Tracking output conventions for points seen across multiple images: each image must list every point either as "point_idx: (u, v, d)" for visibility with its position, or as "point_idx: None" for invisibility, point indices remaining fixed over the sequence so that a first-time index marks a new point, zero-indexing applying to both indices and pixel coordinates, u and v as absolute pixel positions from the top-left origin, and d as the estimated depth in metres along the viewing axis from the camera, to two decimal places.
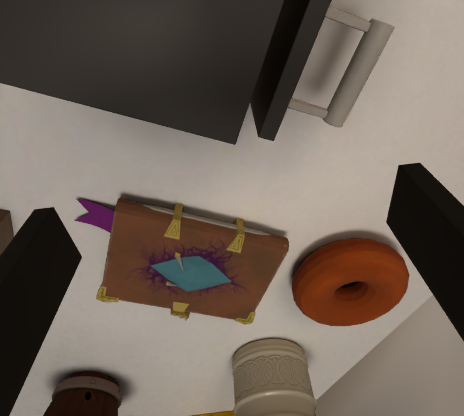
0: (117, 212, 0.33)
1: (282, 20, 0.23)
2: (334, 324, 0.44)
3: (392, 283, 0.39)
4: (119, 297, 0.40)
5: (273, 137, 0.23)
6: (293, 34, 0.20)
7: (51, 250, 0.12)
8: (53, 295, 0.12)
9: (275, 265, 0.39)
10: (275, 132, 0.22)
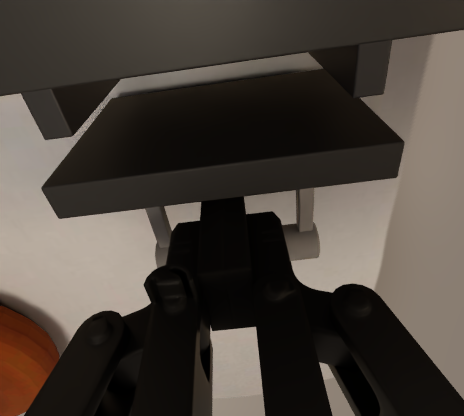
0: None
1: (255, 96, 0.13)
2: None
3: (11, 405, 0.26)
4: None
5: (65, 215, 0.10)
6: (263, 147, 0.10)
7: None
8: None
9: None
10: (77, 214, 0.10)
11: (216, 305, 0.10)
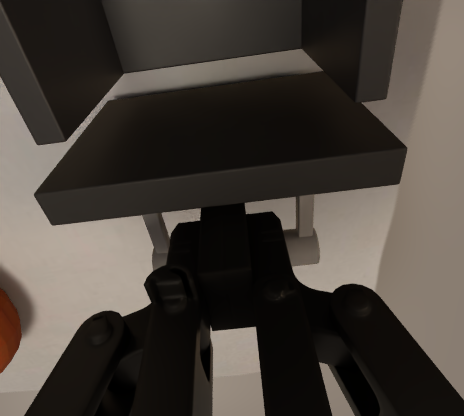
0: None
1: (254, 99, 0.13)
2: None
3: None
4: None
5: (58, 222, 0.10)
6: (262, 152, 0.09)
7: None
8: None
9: None
10: (70, 220, 0.10)
11: (216, 305, 0.10)
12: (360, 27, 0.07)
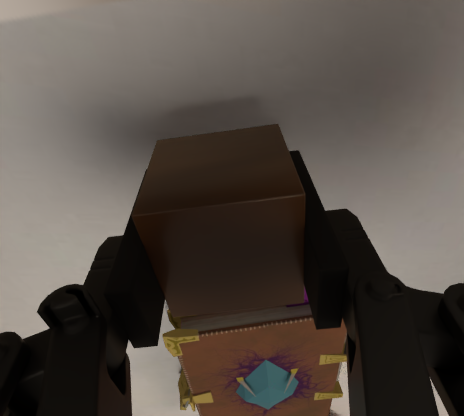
0: None
1: None
2: None
3: None
4: (184, 354, 0.25)
5: None
6: None
7: None
8: None
9: None
10: None
11: (131, 324, 0.09)
12: None
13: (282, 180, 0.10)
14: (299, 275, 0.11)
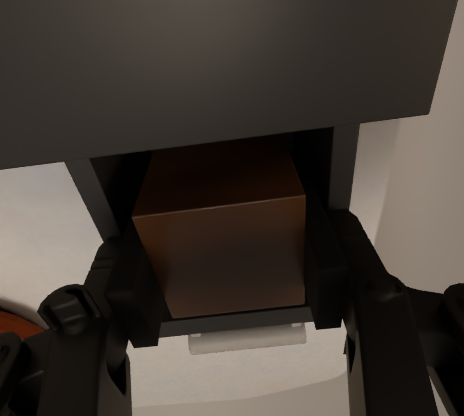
0: None
1: None
2: None
3: None
4: None
5: None
6: None
7: None
8: None
9: None
10: None
11: (131, 324, 0.09)
12: None
13: (283, 181, 0.10)
14: (299, 276, 0.11)
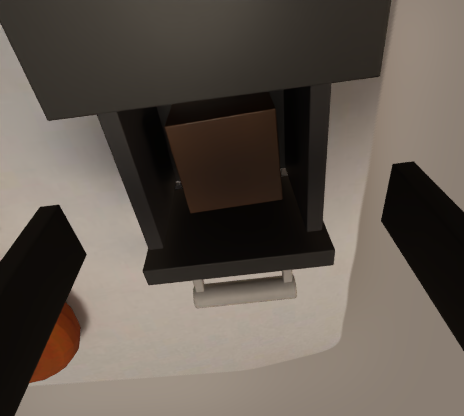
0: None
1: None
2: None
3: (41, 368, 0.30)
4: None
5: (152, 283, 0.18)
6: (261, 248, 0.18)
7: (57, 247, 0.12)
8: (59, 292, 0.12)
9: None
10: (159, 283, 0.18)
11: None
12: (306, 203, 0.16)
13: (262, 103, 0.15)
14: (277, 174, 0.16)
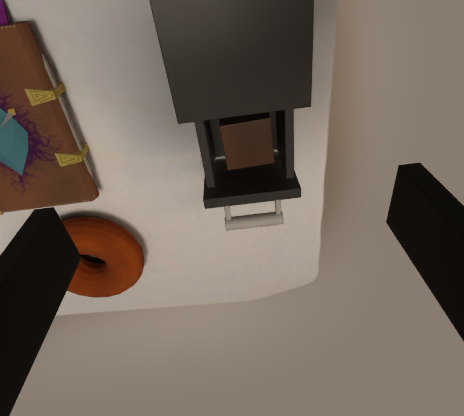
0: (17, 28, 0.29)
1: (261, 167, 0.38)
2: None
3: (121, 281, 0.47)
4: None
5: (207, 207, 0.35)
6: (263, 188, 0.35)
7: (51, 250, 0.12)
8: (53, 295, 0.12)
9: (70, 200, 0.41)
10: (211, 207, 0.35)
11: None
12: (285, 163, 0.33)
13: (264, 115, 0.32)
14: (271, 149, 0.33)
